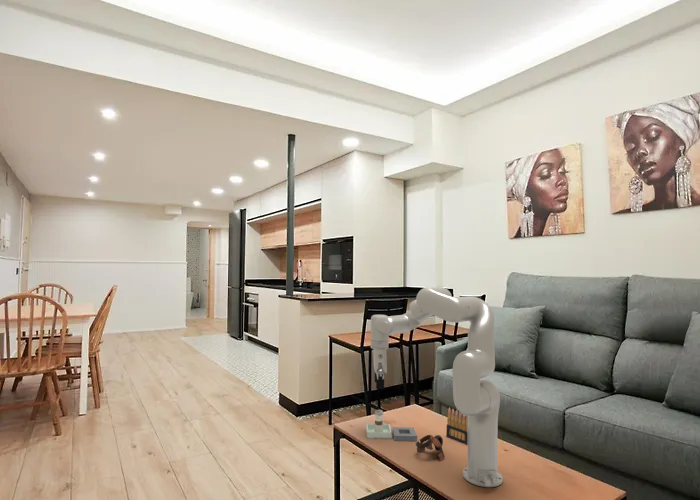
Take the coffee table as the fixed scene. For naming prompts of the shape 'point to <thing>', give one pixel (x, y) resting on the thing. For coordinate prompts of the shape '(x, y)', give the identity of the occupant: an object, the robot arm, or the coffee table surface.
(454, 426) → the ammunition clip
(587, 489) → the coffee table surface
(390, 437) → the parts tray
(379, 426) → the cylinder
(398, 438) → the socket block
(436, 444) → the pottery mug
